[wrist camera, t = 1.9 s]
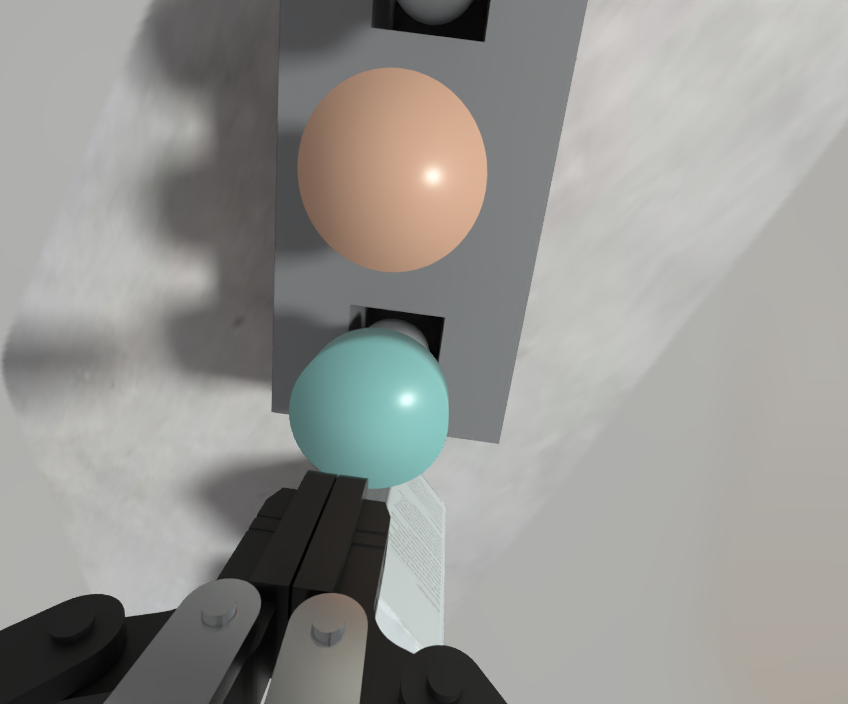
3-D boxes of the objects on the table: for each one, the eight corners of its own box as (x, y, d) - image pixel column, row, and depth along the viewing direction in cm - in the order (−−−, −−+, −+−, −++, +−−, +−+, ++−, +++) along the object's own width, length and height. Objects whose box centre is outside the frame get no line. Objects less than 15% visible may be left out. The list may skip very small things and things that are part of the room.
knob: (342, 290, 22) (291, 332, 15) (456, 306, 22) (459, 355, 15) (335, 395, 24) (286, 477, 17) (441, 410, 24) (437, 498, 17)
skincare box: (349, 472, 32) (293, 623, 20) (399, 443, 31) (369, 584, 20) (399, 534, 33) (373, 706, 22) (448, 508, 32) (447, 674, 21)
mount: (327, -89, 22) (284, -190, 16) (574, -58, 22) (617, -151, 16) (306, 371, 30) (271, 412, 24) (489, 397, 29) (498, 443, 24)
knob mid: (355, 108, 20) (300, 55, 13) (484, 125, 20) (503, 81, 12) (346, 240, 21) (294, 259, 14) (464, 256, 21) (471, 283, 14)
